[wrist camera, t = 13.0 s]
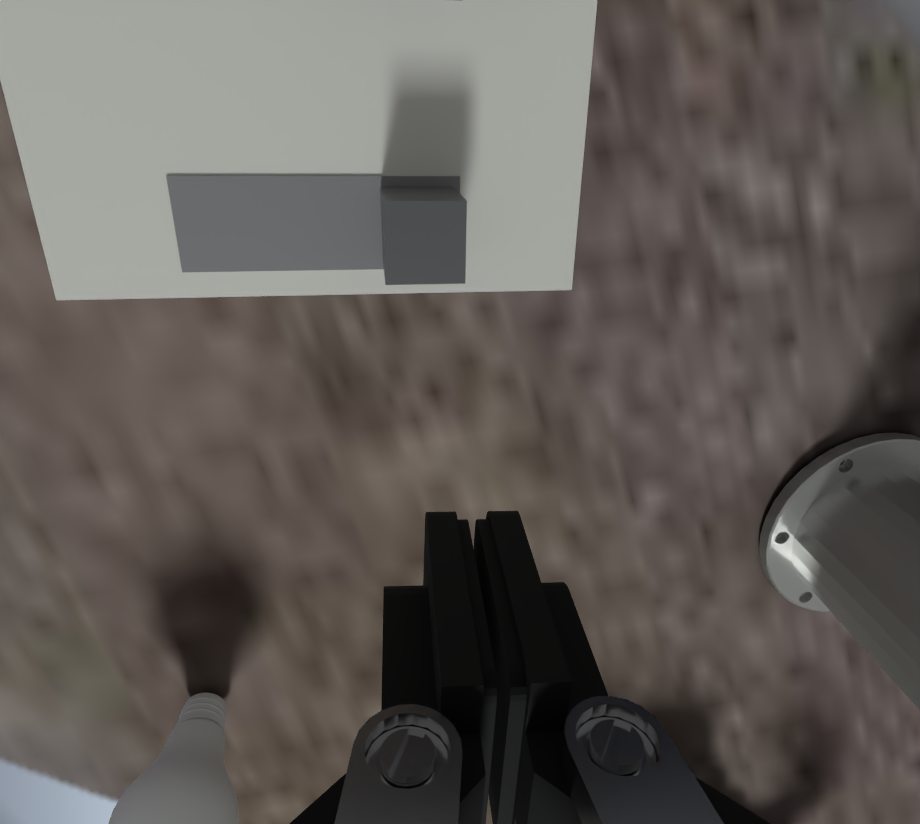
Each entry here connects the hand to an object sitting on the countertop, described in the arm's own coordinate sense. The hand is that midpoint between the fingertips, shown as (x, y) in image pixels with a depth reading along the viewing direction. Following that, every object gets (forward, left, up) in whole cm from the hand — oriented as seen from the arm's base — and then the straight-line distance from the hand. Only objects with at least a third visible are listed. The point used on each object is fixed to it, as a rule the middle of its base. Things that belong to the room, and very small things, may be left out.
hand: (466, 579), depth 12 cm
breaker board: (+4, -8, -21) cm, 23 cm away
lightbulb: (+13, +25, -21) cm, 36 cm away
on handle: (-1, -3, -19) cm, 19 cm away
